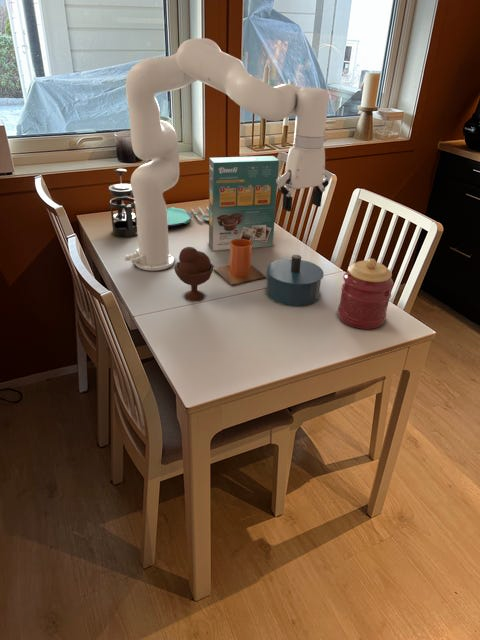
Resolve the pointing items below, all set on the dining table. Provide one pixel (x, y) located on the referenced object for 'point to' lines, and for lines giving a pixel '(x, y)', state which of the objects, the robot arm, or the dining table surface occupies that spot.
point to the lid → (295, 271)
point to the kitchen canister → (365, 294)
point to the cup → (240, 257)
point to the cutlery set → (182, 216)
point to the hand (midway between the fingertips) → (301, 207)
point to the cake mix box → (242, 200)
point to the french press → (123, 219)
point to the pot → (292, 293)
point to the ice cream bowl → (193, 271)
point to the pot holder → (234, 280)
